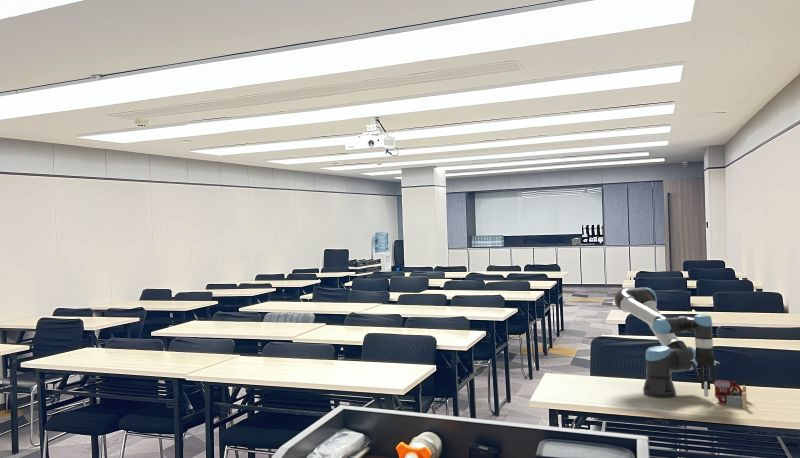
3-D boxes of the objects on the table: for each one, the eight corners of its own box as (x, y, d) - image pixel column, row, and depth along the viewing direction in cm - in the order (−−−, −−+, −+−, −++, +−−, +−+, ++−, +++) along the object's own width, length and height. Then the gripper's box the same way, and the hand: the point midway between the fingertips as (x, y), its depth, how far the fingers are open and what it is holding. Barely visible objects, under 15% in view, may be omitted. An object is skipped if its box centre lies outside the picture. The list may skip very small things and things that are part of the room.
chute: (726, 406, 263) (726, 391, 263) (728, 398, 276) (727, 384, 276) (746, 408, 259) (745, 393, 259) (746, 400, 272) (746, 385, 272)
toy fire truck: (745, 405, 263) (744, 383, 263) (714, 403, 269) (714, 381, 269) (743, 401, 269) (742, 379, 270) (713, 399, 275) (713, 377, 275)
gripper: (688, 347, 275) (690, 396, 274) (718, 349, 268) (721, 399, 267) (690, 344, 281) (692, 392, 281) (719, 346, 274) (722, 395, 274)
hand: (706, 395), depth 274 cm, fingers closed
